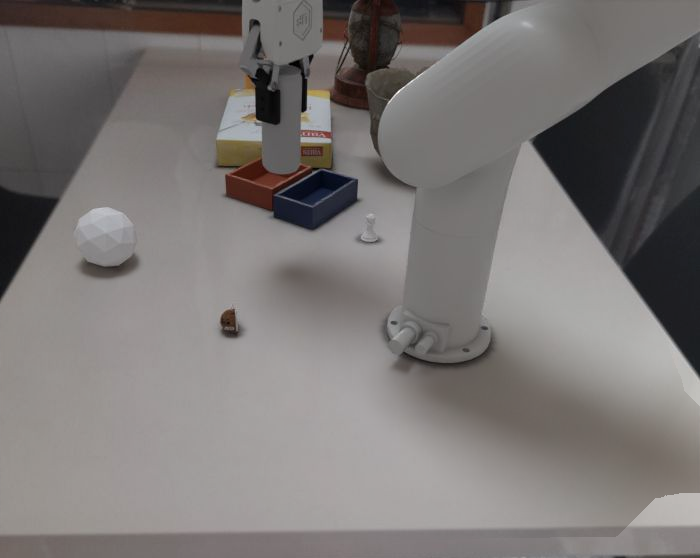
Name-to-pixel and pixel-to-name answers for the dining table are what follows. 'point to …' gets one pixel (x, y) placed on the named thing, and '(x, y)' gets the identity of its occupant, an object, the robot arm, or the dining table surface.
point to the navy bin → (315, 198)
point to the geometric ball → (105, 237)
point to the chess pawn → (369, 230)
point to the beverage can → (284, 125)
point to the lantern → (366, 49)
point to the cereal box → (246, 131)
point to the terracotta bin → (260, 183)
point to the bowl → (384, 93)
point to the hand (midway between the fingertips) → (281, 114)
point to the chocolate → (229, 320)
